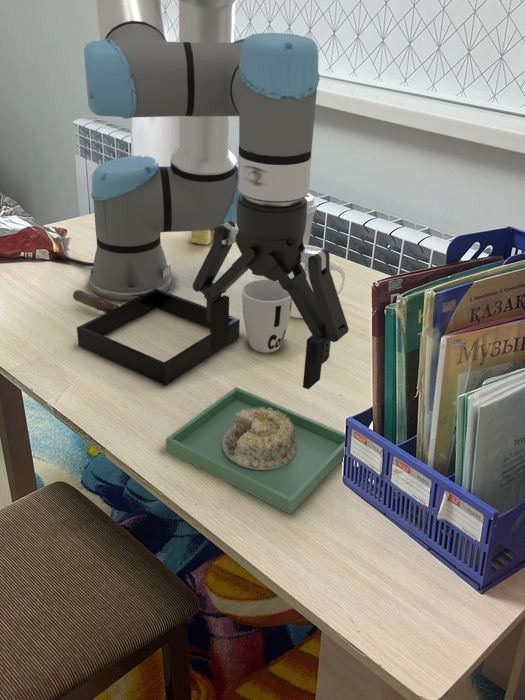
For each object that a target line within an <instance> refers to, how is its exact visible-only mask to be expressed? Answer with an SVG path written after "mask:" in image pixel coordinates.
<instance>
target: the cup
mask: <svg viewBox="0 0 525 700" xmlns="http://www.w3.org/2000/svg"><path fill="white" fill-rule="evenodd" d="M241 301H242V303H241V304H242V317H243V323H244V331H245V334H246V337H247V340H248V343H249V347H250V348H251V349H253V350H254V351H256V352H259V353H273V352H276V351H278V350H279V349H280V348H281V345H282V343H283V341H284V339H285V337H286V334H287V330H288V325H289V323H290V318H291V316H290V313H291V305H292V298H291V297H290V295H289V293H288V291H287V290H284V289H283V288H282V287H281V285H280V283H279V281H278V280H277V281H272V280H269V279H268V278H265V279H256V280H251V281H249V282H247V283H245V284H244V285H242V287H241Z"/></svg>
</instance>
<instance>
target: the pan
mask: <svg viewBox="0 0 525 700" xmlns="http://www.w3.org/2000/svg"><path fill="white" fill-rule="evenodd" d="M72 298H73V300H74V301H76V302H78V303H81V304H83V305H85V306H88V307H90V308H92V309H95V310H97V311H100V312H102V313H103V314H100V315H99V316H97V317H95V318H93V319H91V320H89V321H87V322H85V323H83V324H81V325H78V326H77V327H76V335H77V344H78V347H79V348H81V349H83V350H85V351H87V352H89V353H92V354H94V355H96V356H98V357H101V358H102V359H103V358H104V359H105V360H107V361H110V362H112V363H114V364H117V365H119V366H121V367H123V368H125V369H128V370H130V371H132V372H134V373H136V374H137V375H140V376H143V377H145V378H147V379H149V380H151V381H154V382H156V383H158V384H160V385H162V386H168V385H169V384H171V383H172V382H173V381H175V380H177V379H178V378H180V377H181V376H183V375H184V374H186V373H187V372H189V371H190V370H192V369H194V368H195V367H197V366H198V365H200V364H201V363H202V362H204V361H205V360H207V359H209V358H211V357H212V356H213V355H215V354H216V353H218V352H219V351H221V350H222V349H224V348H225V347H227V346H229V345H230V344H231V343H233V342H235V341H236V340H238V339H239V338H240V327H241V325H240V323H241V319H240V318H237V317H235V316H232V315H229V337H228V343H227V344H225V345H224V346H222V347H221V348H219V349H218V350H216V351H214V350H212V349H211V333H210V334H208V335H206V336H204V337H203V338H201V339H199V340H198V341H196V342H195V343H193V344H192V345H190V346H188V347H187V348H185V349H183V350H182V351H180V352H178V353H177V354H175V355H174V356H172V357H170V358H169V359H168V360H165V361H163V360H160V359H158V358H156V357H153V356H151V355H148V354H146V353H144V352H142V351H139V350H137V349H135V348H133V347H130V346H128V345H126V344H123V343H121V342H118V341H116V340H115V339H112V338H109V337H107V336H106V335H108V334H111V333H113V332H114V331H116V330H118V329H120V328H122V327H124V326H126V325H127V324H129V323H132V322H133V321H135V320H137V319H139V318H141V317H143V316H145V315H147V314H149V313H151V312H152V311H154V310H157V309H158V310H160V311H163V312H165V313H168V314H170V315H173V316H175V317H178V318H181V319H184V320H186V321H189V322H191V323H193V324H196V325H199V326H201V327H204V328H207V329H209V330H211V322H208V320H207V306H205V305H202V304H200V303H197V302H194V301H192V300H189V299H187V298H183V297H181V296H178V295H176V294H172V293H170V292H167V291H166V292H165V291H162V290H159V289H156V288H155V289H153V290H151V291H149V292H147V293H145V294H143V295H141V296H139V297H137V298H135V299H133V300H131V301H126V302H125V303H123V304H121V305H118V304H116V303H113V302H111V301H108V300H107V299H104V298H102V297H98V296H96V295H93V294H91V293H89V292H86V291H83V290H81V289H77V290H74V291H73V293H72Z"/></svg>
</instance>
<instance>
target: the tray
mask: <svg viewBox="0 0 525 700" xmlns="http://www.w3.org/2000/svg"><path fill="white" fill-rule="evenodd" d="M254 407H255V408H257V407H259V408H260V407H262V408H263V407H265V408H266V409H267V408H272V409H273V411H275V410H278V411H280V412H281V413H283V415H284V414H287V415H286V416H287V417H289V418H290V420H291V422H293V426H294V428H295V431H294V435H295V440H296V441H297V453H296V455H295V457H294V458H293V459H292V460H291V461H290V462H289V463H288V464H286V465H284V466H281V467H279V468H277V469H273V470H271V469H270V470H265V471H264V470H255V469H249V468H246V467H243V466H241V465H238V464H237V463H236V462H233V461H232V460H231V459H229V458H228V456H227V455H226V454H225V452H224V450H223V446H222V439H223V435H225V432H226V431H228V429H229V428H232V426H233V423H235V424H236V422H235V420H236V419H235V418H236V413H239V412H240V411H241V410H245V409H247V408H254ZM345 434H346V433H344V432H343V431H340V430H337V429H336V428H333V427H331V426H328V425H326V424H324V423H321V422H318V421H317V420H315V419H311V418H310V417H307V416H305V415H302V414H300V413H297V412H296V411H293V410H291V409H289V408H286V407H284V406H281V405H279V404H277V403H274V402H272V401H270V400H267V399H265V398H263V397H261V396H258V395H256V394H253V393H251V392H249V391H246V390H245V389H241V388H240V387H237V386H235V387H234V388H233V389H231V390H229V392H227V393H226V394H224V395H223V396H222V397H220V398H219V399H218V400H216V401H215V402H214V403H213V404H211V405H210V406H208V407H207V408H205V409H204V410H202V411H201V412H200V413H199V414H197V415H196V416H194V417H193V418H192V419H190V420H189V421H188V422H186V423H185V424H183V425H182V426H181V427H179V429H177V430H175V431H174V432H173V433H172V434H170V435H169V436H168V437H166V438H165V451H166V452H168V453H170V454H172V455H174V456H176V457H178V458H179V459H182V460H183V461H186V462H187V463H189V464H191V465H193V466H195V467H197V468H199V469H200V470H203V471H205V472H206V473H209V474H211V475H212V476H215V477H216V478H219V479H221V480H223V481H224V482H226V483H229V484H230V485H232V486H234V487H236V488H238V489H240V490H242V491H244V492H246V493H248V494H250V495H251V496H254V497H255V498H257V499H260V501H261V500H262V501H263V502H265V503H267V504H269V505H271V506H273V507H275V508H277V509H279V510H281V511H283V512H285V513H287V514H289V515H291V514H292V513H293V512H294V511H295V510H296V509H297V508H298V507H299V506H300V505H301V503H302V502H304V501H305V499H306V498H307V497H308V496H310V494H311V493H312V492H313V491H314V490H315V489H316V488H317V487H318V486H319V484H321V482H322V481H323V480H324V479H325V478H326V477H327V476H328V475H329V474H330V473H331V472H332V471H333V470H334V469H335V468H336V467H337V466H338V464H339V463H340V462H342V460H343V459H344V458H345V457H344V447H345Z"/></svg>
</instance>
